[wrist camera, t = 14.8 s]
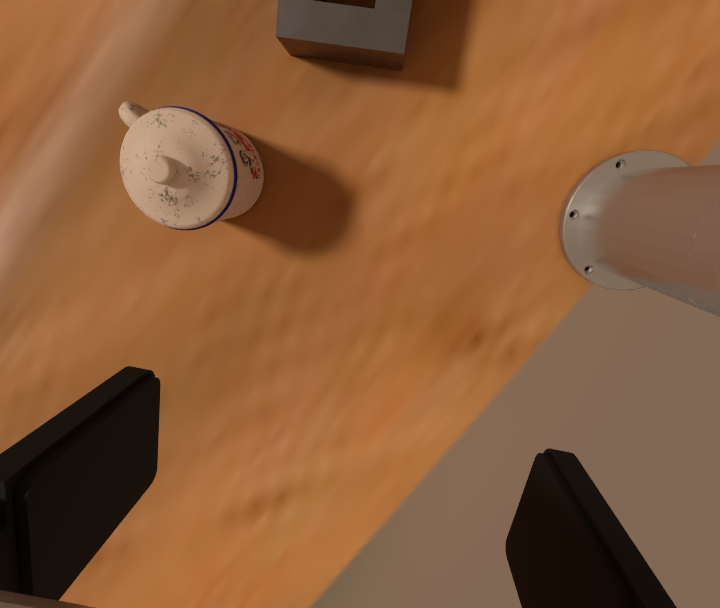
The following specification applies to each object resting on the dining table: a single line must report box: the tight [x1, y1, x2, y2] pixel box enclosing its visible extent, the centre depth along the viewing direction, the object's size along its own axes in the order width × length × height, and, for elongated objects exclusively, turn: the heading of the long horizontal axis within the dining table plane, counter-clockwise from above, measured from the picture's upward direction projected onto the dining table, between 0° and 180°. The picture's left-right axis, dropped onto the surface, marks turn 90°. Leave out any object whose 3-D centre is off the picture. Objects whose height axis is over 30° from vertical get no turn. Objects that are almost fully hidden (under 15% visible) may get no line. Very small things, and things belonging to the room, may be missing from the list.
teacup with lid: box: [119, 102, 264, 230], centre depth 35 cm, size 12×9×12 cm
